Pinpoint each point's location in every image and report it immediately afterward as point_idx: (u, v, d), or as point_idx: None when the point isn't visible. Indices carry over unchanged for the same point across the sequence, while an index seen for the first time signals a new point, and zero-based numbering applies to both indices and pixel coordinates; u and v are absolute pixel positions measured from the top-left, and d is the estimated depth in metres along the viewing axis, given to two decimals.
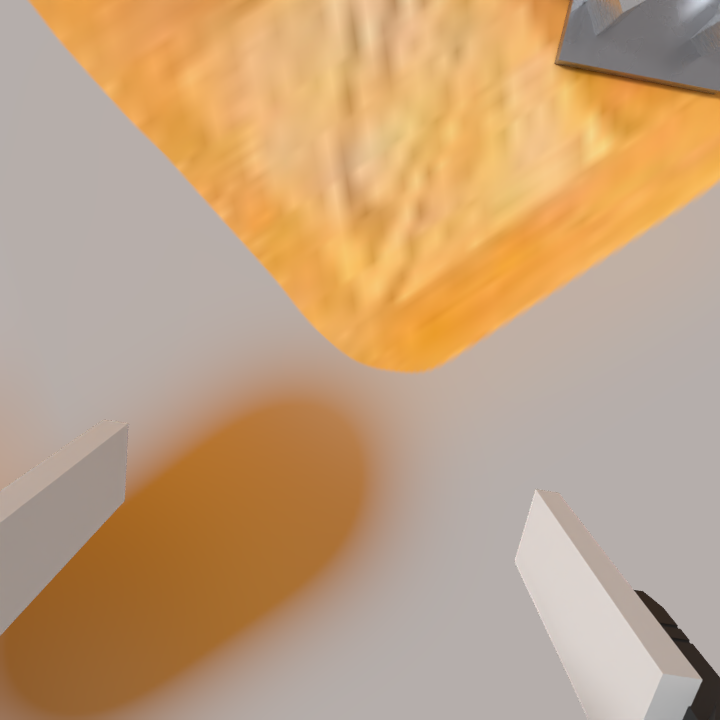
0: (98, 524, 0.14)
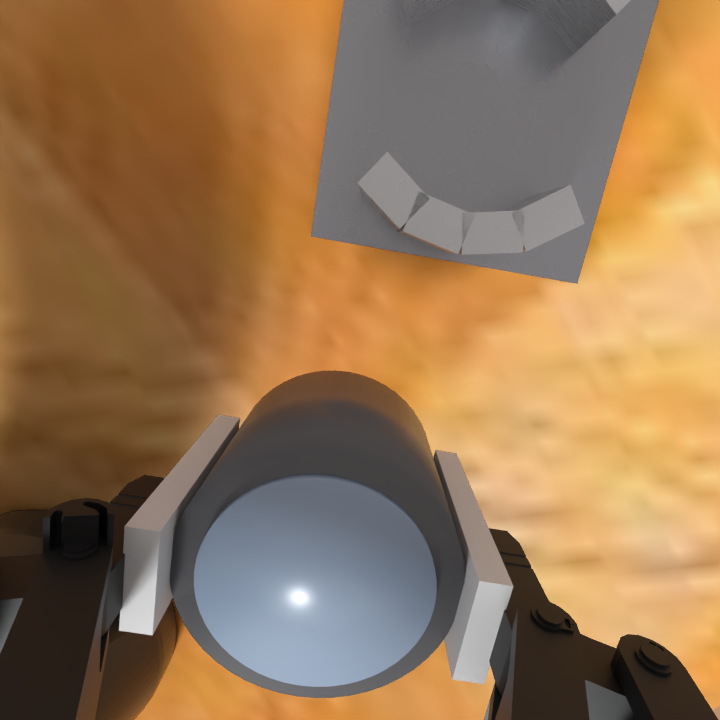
0: None
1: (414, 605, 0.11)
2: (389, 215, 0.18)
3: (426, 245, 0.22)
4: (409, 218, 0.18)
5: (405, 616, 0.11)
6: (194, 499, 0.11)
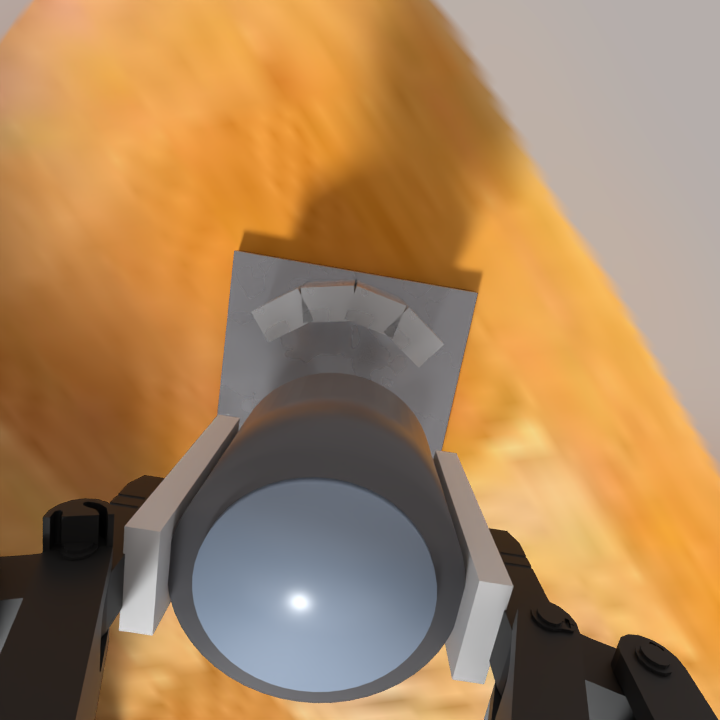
0: None
1: (414, 610, 0.11)
2: None
3: None
4: None
5: (405, 621, 0.11)
6: (192, 503, 0.11)
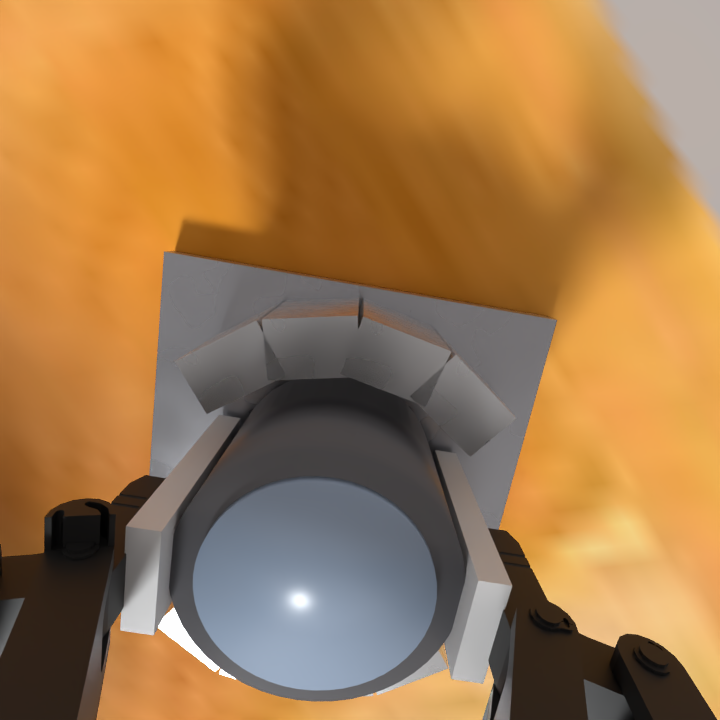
0: None
1: (414, 608, 0.11)
2: (200, 657, 0.14)
3: None
4: None
5: (405, 620, 0.11)
6: (193, 502, 0.11)
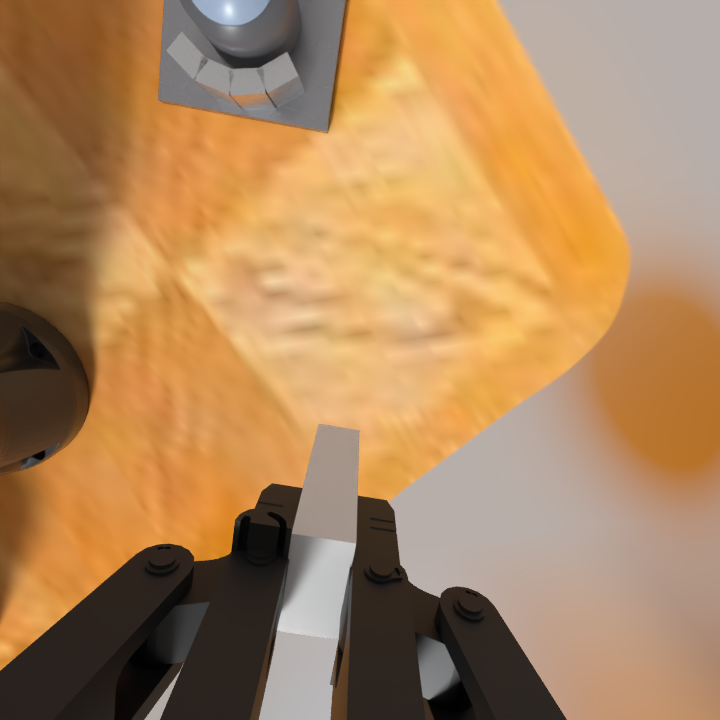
0: None
1: None
2: (186, 71, 0.32)
3: (230, 105, 0.36)
4: (198, 72, 0.32)
5: None
6: None
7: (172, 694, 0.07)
